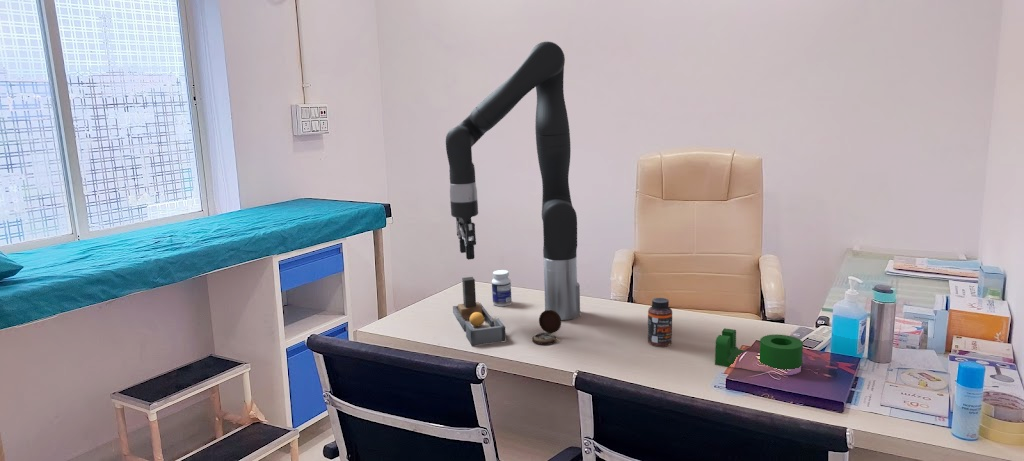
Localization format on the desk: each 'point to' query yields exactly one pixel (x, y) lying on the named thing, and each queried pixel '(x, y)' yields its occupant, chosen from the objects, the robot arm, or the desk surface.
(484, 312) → the track
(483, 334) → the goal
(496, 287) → the pill bottle
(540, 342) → the compass
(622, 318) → the desk surface
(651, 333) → the supplement bottle
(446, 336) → the desk surface
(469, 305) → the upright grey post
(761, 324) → the desk surface
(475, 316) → the ball
